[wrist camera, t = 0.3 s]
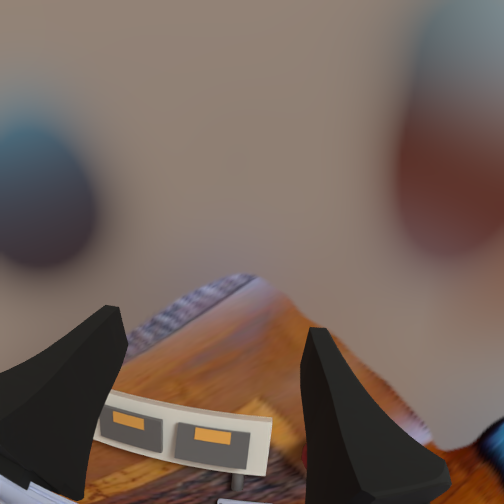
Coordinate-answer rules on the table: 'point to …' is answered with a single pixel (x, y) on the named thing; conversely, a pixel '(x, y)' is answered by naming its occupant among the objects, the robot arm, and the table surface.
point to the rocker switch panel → (195, 416)
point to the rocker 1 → (132, 428)
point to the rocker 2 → (212, 446)
